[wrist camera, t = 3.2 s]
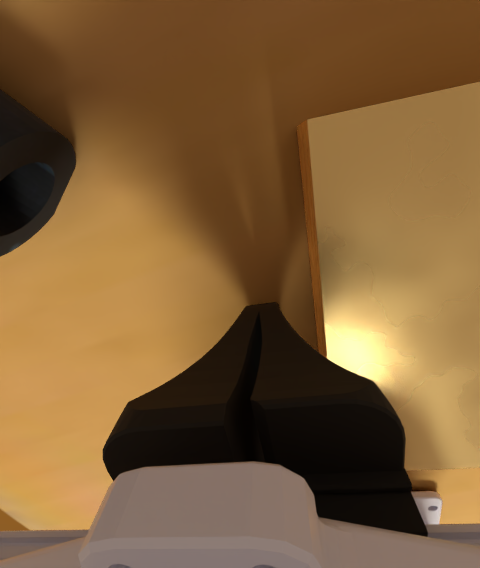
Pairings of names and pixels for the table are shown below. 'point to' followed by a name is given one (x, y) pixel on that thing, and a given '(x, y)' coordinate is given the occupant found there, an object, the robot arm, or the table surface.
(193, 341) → the table surface
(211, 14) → the table surface
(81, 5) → the table surface
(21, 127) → the pipe connector
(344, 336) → the tan flat block
